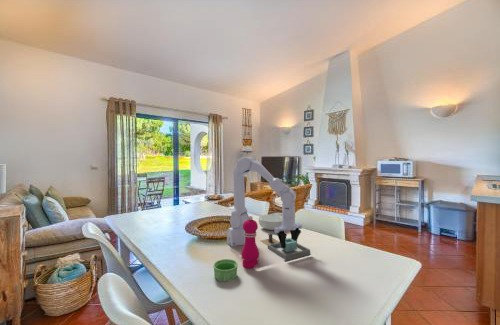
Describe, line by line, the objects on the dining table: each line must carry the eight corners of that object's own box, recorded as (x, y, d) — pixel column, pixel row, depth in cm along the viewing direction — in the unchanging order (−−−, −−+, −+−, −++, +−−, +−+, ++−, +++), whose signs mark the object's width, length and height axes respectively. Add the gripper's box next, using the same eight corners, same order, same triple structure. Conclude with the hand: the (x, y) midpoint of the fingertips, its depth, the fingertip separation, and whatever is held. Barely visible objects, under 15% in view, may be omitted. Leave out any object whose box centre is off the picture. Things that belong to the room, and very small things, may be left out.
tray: (285, 262, 96) (285, 255, 96) (267, 250, 108) (267, 244, 108) (310, 255, 103) (310, 249, 103) (290, 245, 115) (290, 239, 115)
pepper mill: (261, 262, 96) (261, 214, 95) (256, 270, 89) (256, 219, 88) (244, 259, 98) (245, 213, 98) (238, 267, 91) (238, 217, 91)
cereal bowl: (288, 234, 131) (288, 221, 131) (258, 233, 131) (258, 221, 131) (284, 225, 148) (284, 214, 148) (258, 224, 148) (258, 214, 148)
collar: (288, 252, 101) (288, 244, 101) (279, 247, 107) (279, 239, 106) (298, 250, 103) (298, 242, 103) (289, 245, 109) (289, 237, 109)
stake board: (268, 248, 111) (268, 237, 111) (259, 242, 118) (259, 232, 118) (281, 244, 115) (281, 235, 115) (272, 239, 122) (272, 230, 122)
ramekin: (215, 284, 80) (215, 271, 79) (211, 271, 88) (211, 260, 88) (240, 280, 82) (240, 268, 82) (234, 268, 91) (234, 257, 91)
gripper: (280, 220, 98) (280, 252, 98) (306, 216, 105) (306, 246, 105) (271, 216, 104) (271, 246, 105) (296, 213, 111) (296, 241, 112)
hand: (288, 246), depth 105 cm, fingers closed on collar, 6 cm apart
